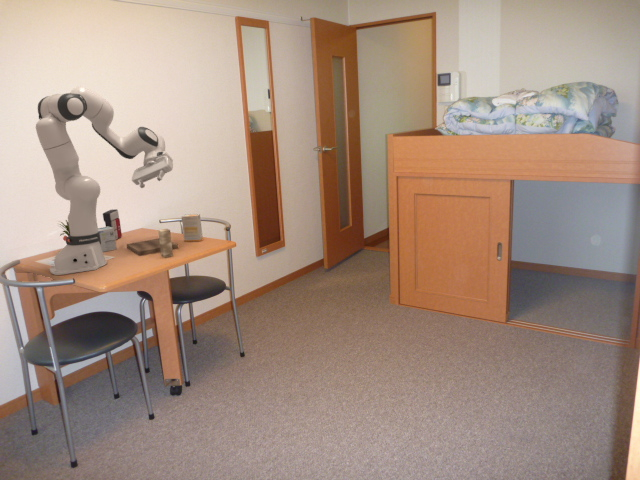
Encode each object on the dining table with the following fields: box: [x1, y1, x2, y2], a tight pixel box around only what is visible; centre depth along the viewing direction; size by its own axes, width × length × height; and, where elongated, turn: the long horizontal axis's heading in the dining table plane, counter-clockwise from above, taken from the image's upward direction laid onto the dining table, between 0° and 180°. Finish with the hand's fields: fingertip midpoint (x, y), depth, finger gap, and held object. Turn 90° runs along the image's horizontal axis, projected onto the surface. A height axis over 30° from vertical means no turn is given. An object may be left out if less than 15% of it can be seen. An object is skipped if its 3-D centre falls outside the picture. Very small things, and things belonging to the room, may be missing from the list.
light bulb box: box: [98, 226, 118, 253], centre depth 259 cm, size 11×7×11 cm, turn 134°
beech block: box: [157, 228, 174, 259], centre depth 242 cm, size 4×4×12 cm
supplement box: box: [181, 213, 204, 243], centre depth 269 cm, size 8×5×13 cm, turn 84°
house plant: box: [58, 219, 70, 237], centre depth 260 cm, size 14×14×16 cm
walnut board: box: [126, 237, 179, 257], centre depth 259 cm, size 18×20×2 cm
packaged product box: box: [102, 208, 123, 240], centre depth 281 cm, size 11×4×15 cm, turn 179°
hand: (150, 183), depth 243 cm, fingers open, 8 cm apart
